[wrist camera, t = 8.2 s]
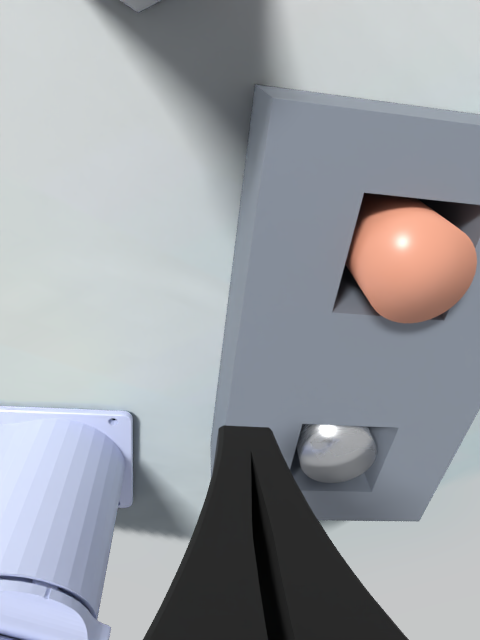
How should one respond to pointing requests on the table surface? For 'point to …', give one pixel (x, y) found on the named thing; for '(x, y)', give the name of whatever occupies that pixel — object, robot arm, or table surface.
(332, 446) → the steel plug
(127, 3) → the flask
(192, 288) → the table surface
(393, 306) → the terracotta plug
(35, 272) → the table surface
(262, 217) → the plug panel
